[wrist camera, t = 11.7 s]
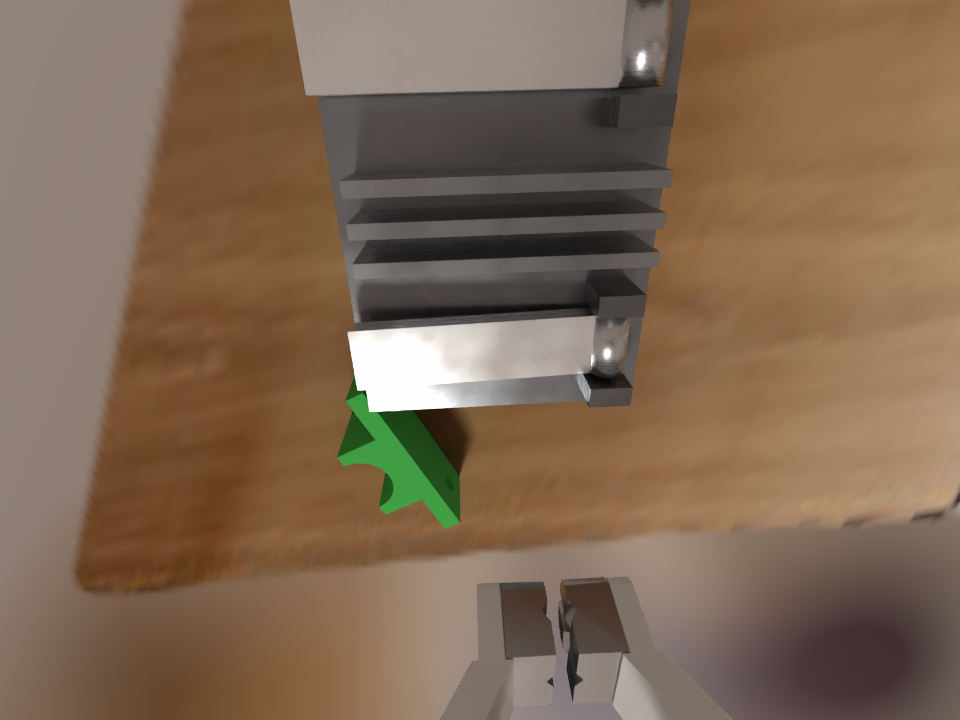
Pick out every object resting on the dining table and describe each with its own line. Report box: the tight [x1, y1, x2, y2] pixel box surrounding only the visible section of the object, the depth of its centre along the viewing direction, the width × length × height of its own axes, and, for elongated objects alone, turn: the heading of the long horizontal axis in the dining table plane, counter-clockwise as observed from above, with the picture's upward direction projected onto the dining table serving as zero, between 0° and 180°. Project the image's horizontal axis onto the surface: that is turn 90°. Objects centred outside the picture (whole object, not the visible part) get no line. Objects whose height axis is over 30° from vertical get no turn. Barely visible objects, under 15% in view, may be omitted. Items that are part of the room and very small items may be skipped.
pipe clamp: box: [337, 377, 460, 529], centre depth 29 cm, size 11×4×5 cm, turn 27°
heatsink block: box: [317, 0, 690, 412], centre depth 21 cm, size 14×20×8 cm
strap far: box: [348, 308, 631, 390], centre depth 22 cm, size 13×3×2 cm, turn 92°
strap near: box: [289, 0, 675, 96], centre depth 16 cm, size 13×3×2 cm, turn 92°
